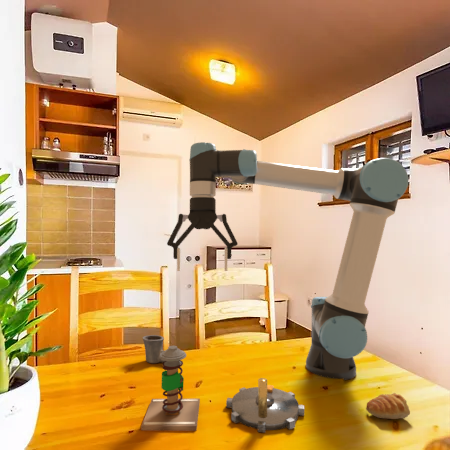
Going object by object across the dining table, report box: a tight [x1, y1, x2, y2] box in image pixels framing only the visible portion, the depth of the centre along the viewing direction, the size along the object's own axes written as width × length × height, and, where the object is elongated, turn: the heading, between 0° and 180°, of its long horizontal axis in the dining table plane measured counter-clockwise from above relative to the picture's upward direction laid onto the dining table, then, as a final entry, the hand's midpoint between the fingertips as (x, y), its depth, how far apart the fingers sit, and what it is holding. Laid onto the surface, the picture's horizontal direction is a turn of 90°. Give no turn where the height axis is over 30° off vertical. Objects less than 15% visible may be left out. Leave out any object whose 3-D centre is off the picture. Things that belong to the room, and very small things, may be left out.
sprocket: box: [225, 377, 305, 433], centre depth 84 cm, size 19×19×10 cm
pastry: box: [365, 392, 411, 420], centre depth 83 cm, size 9×7×4 cm
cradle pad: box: [140, 398, 201, 432], centre depth 82 cm, size 12×12×1 cm
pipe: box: [142, 334, 165, 364], centre depth 114 cm, size 6×13×8 cm, turn 73°
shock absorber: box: [159, 345, 187, 414], centre depth 82 cm, size 6×6×15 cm
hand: (202, 270), depth 101 cm, fingers open, 13 cm apart
